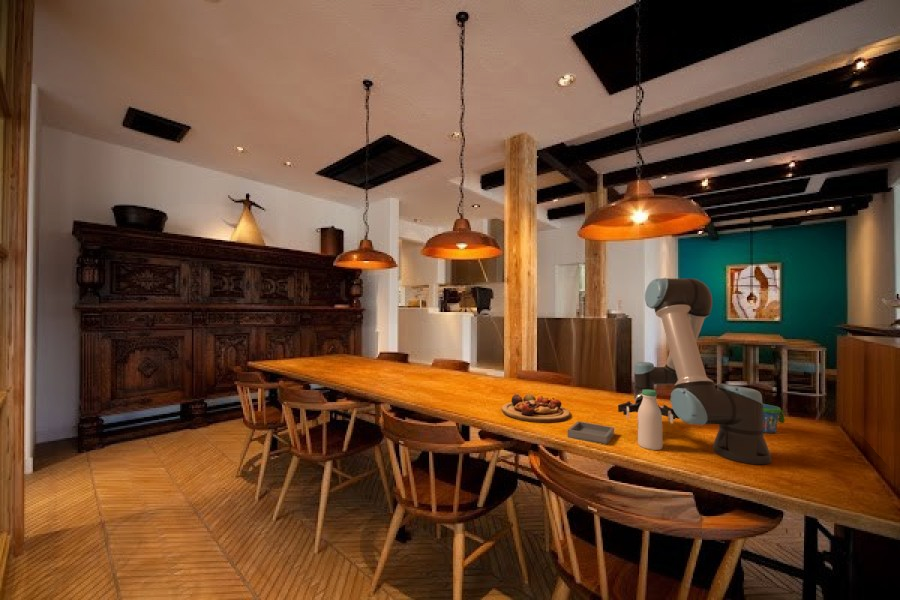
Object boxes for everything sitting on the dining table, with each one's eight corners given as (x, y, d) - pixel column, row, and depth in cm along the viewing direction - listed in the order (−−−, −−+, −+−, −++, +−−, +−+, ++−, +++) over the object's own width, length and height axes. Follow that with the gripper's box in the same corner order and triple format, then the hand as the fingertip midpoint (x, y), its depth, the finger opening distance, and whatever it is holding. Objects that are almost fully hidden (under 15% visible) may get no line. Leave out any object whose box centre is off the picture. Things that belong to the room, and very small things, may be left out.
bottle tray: (614, 434, 141) (614, 427, 141) (606, 445, 129) (606, 437, 130) (577, 427, 149) (577, 421, 149) (567, 437, 137) (567, 429, 138)
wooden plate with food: (548, 428, 149) (549, 408, 149) (487, 412, 171) (488, 395, 171) (581, 415, 172) (582, 397, 172) (524, 402, 194) (524, 387, 194)
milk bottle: (667, 450, 124) (666, 392, 125) (644, 450, 125) (644, 392, 125) (655, 442, 132) (654, 388, 133) (633, 442, 132) (633, 388, 133)
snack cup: (774, 427, 152) (773, 403, 152) (795, 435, 142) (794, 409, 142) (734, 426, 154) (734, 402, 154) (752, 434, 143) (752, 408, 144)
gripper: (681, 416, 141) (691, 432, 122) (612, 409, 152) (611, 422, 133) (681, 397, 141) (691, 410, 122) (612, 391, 152) (610, 402, 133)
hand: (649, 416), depth 127 cm, fingers open, 13 cm apart
